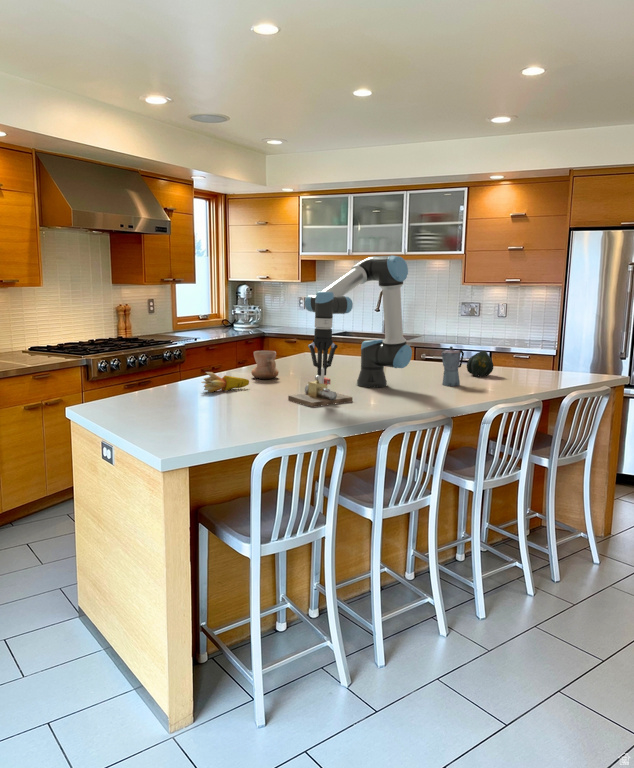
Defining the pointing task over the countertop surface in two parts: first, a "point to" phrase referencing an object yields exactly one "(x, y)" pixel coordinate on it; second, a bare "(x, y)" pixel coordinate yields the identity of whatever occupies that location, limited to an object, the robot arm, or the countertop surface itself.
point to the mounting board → (318, 399)
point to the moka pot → (451, 366)
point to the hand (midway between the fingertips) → (321, 383)
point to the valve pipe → (319, 390)
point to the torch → (223, 382)
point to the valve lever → (326, 380)
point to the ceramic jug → (265, 365)
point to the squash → (480, 364)
